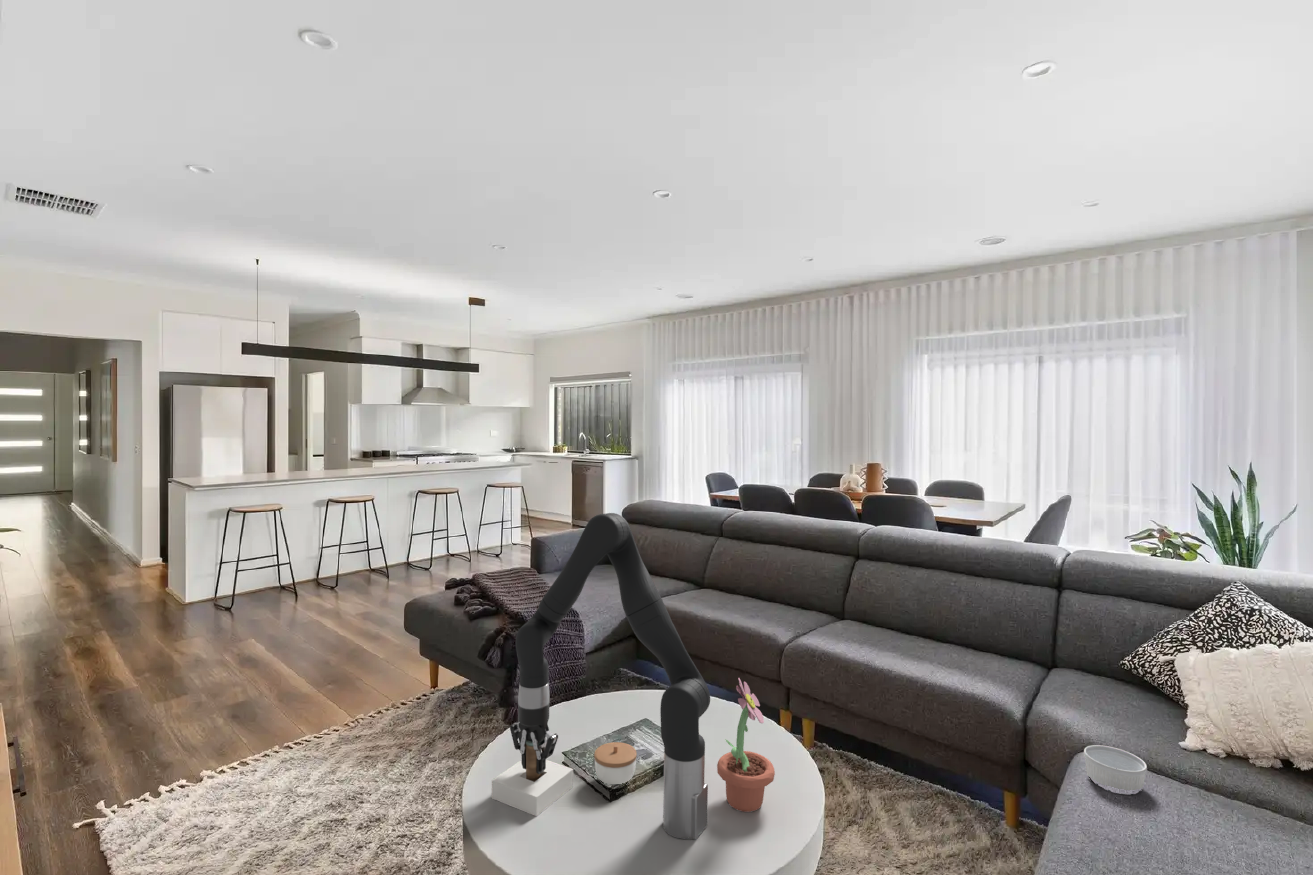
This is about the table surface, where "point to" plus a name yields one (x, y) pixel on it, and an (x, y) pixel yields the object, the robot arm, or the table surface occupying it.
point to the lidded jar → (615, 762)
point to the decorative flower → (745, 762)
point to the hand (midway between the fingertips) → (533, 769)
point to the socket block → (532, 787)
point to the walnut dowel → (531, 762)
